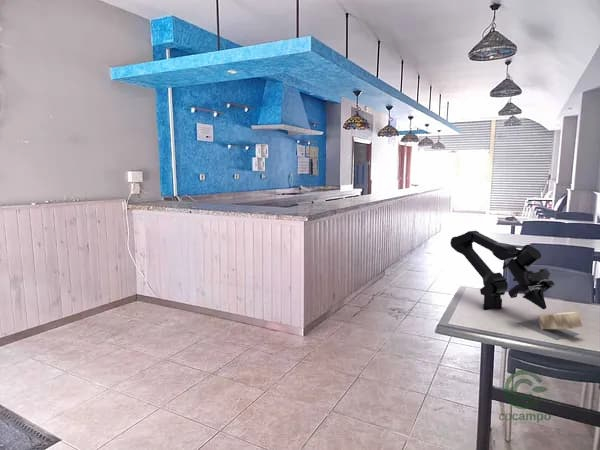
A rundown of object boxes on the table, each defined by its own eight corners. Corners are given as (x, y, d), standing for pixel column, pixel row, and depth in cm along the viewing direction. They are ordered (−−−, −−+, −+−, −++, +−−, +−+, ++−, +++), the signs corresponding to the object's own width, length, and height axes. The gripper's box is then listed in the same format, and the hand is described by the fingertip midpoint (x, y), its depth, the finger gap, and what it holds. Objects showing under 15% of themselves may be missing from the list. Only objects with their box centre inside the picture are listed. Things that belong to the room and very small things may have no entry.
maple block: (537, 315, 146) (568, 313, 135) (546, 313, 148) (578, 311, 137) (541, 329, 145) (572, 328, 134) (550, 327, 147) (582, 326, 136)
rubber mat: (516, 324, 151) (516, 323, 151) (538, 320, 155) (538, 318, 155) (557, 341, 136) (557, 340, 136) (579, 335, 141) (580, 334, 140)
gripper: (517, 264, 145) (543, 302, 136) (551, 259, 152) (578, 295, 143) (498, 279, 153) (521, 316, 145) (531, 274, 160) (556, 309, 152)
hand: (545, 308), depth 146 cm, fingers closed
